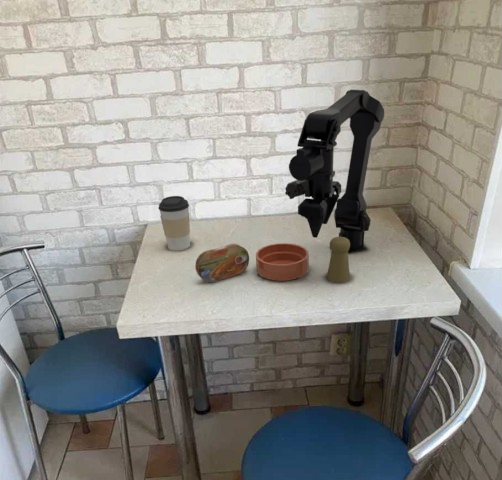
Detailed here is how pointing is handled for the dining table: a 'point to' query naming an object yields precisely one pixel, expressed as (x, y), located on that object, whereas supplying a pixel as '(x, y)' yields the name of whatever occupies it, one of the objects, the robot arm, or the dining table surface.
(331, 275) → the cork
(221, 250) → the tin
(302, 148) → the robot arm
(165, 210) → the coffee cup
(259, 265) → the bowl
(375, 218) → the dining table surface
